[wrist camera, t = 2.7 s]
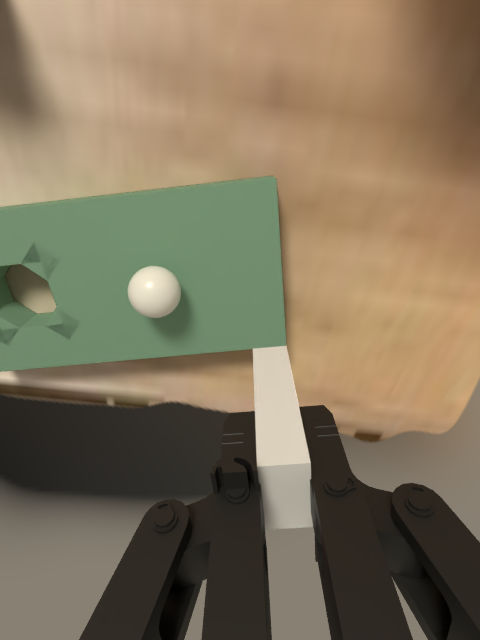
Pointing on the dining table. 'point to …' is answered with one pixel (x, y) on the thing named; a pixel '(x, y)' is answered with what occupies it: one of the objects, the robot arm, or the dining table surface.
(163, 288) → the ball
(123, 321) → the putting mat
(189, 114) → the dining table surface
